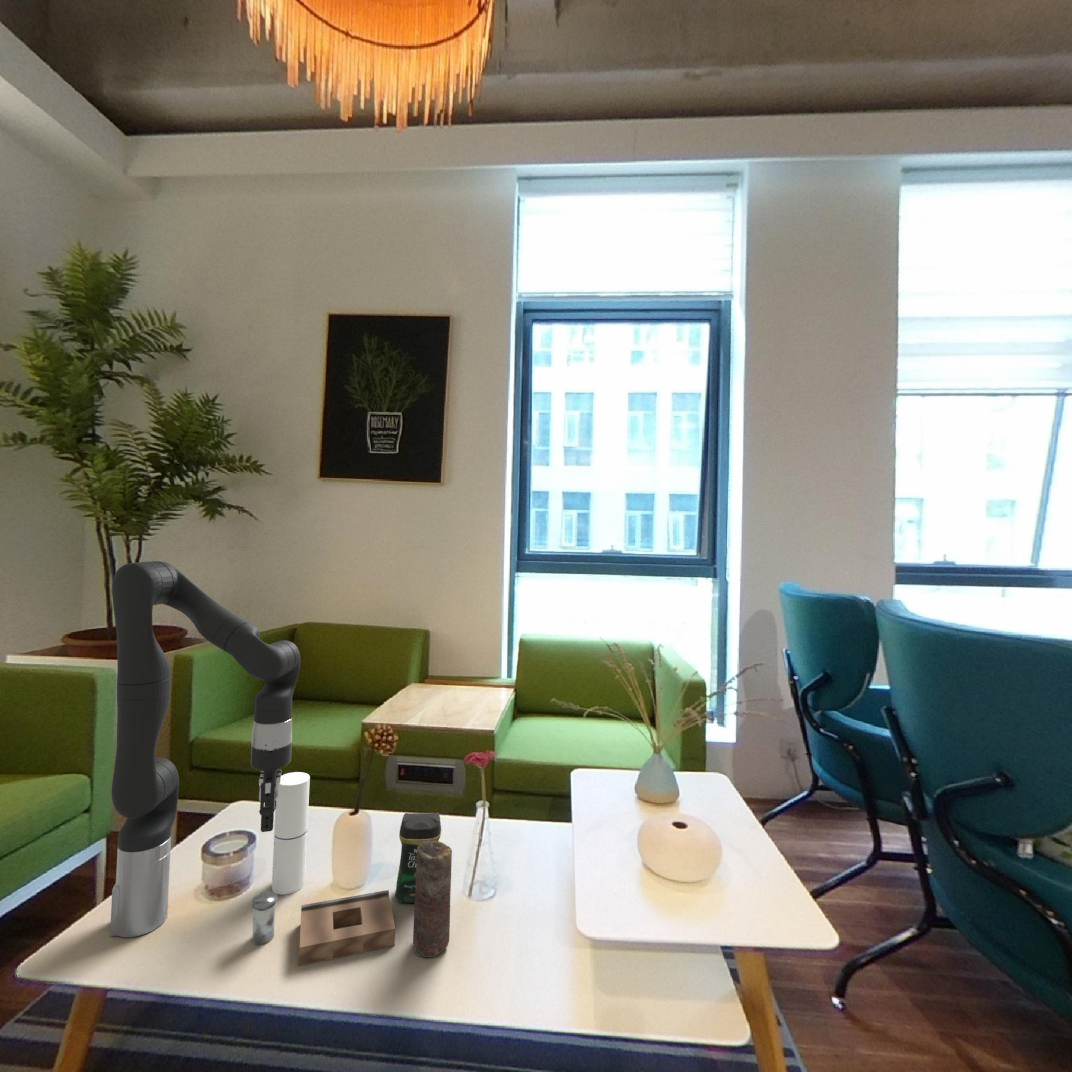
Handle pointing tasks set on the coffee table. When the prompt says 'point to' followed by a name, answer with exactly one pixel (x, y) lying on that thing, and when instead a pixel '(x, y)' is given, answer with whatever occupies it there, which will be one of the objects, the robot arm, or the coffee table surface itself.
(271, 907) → the salt shaker
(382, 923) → the jig
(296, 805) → the cylindrical container
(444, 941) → the candle
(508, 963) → the coffee table surface
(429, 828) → the coffee jar
